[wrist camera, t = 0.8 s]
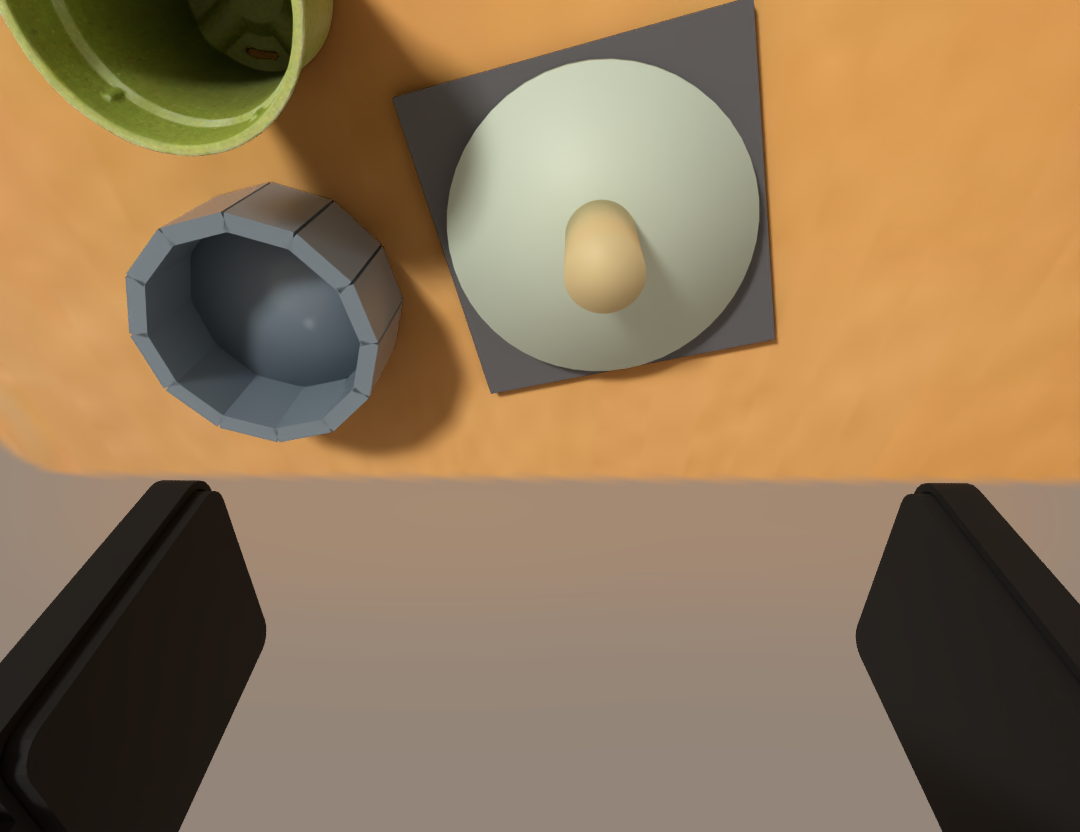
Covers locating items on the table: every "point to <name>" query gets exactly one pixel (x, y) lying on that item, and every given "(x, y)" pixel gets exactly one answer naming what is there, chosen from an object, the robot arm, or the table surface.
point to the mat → (674, 45)
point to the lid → (603, 215)
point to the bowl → (266, 311)
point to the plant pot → (172, 64)
